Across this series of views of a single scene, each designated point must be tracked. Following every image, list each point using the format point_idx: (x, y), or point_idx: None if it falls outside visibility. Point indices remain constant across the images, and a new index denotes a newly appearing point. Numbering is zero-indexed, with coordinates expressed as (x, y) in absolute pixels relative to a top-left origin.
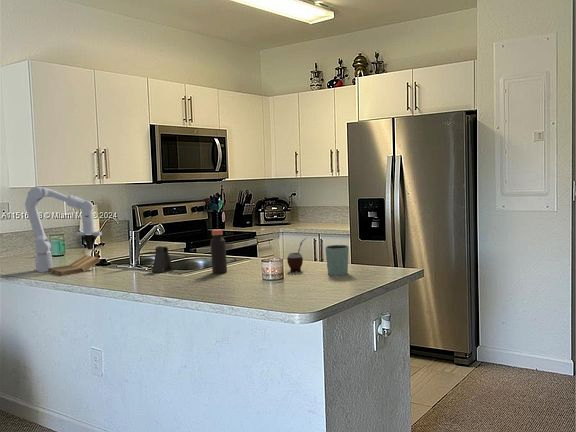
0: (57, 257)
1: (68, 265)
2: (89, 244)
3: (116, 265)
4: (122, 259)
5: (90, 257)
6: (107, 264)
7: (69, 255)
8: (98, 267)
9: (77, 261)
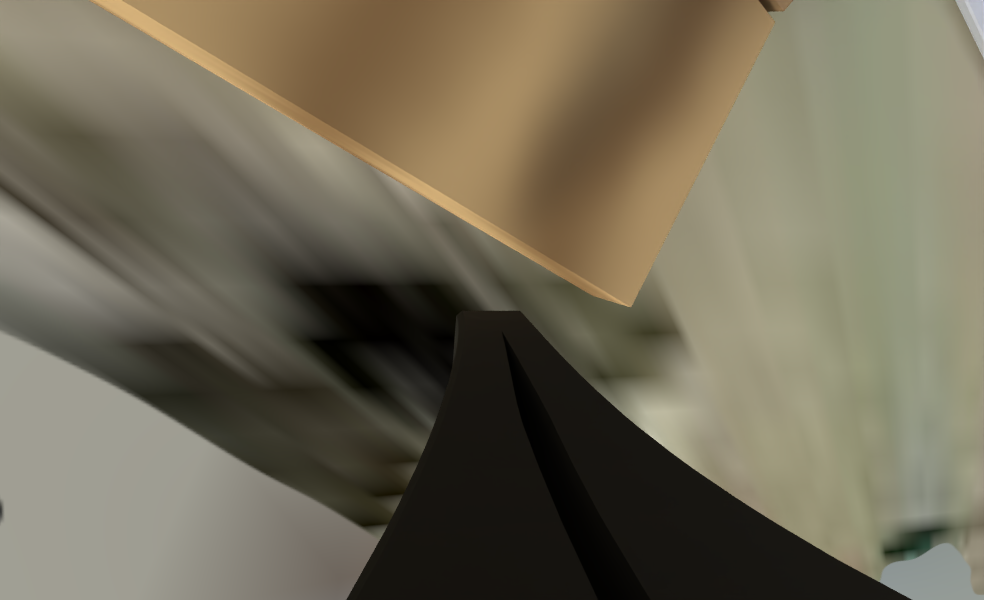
0: (918, 513)
1: (764, 14)
2: (463, 390)
3: (130, 279)
4: (382, 521)
5: (330, 66)
6: (341, 334)
7: (852, 555)
8: (297, 136)
9: (640, 65)
